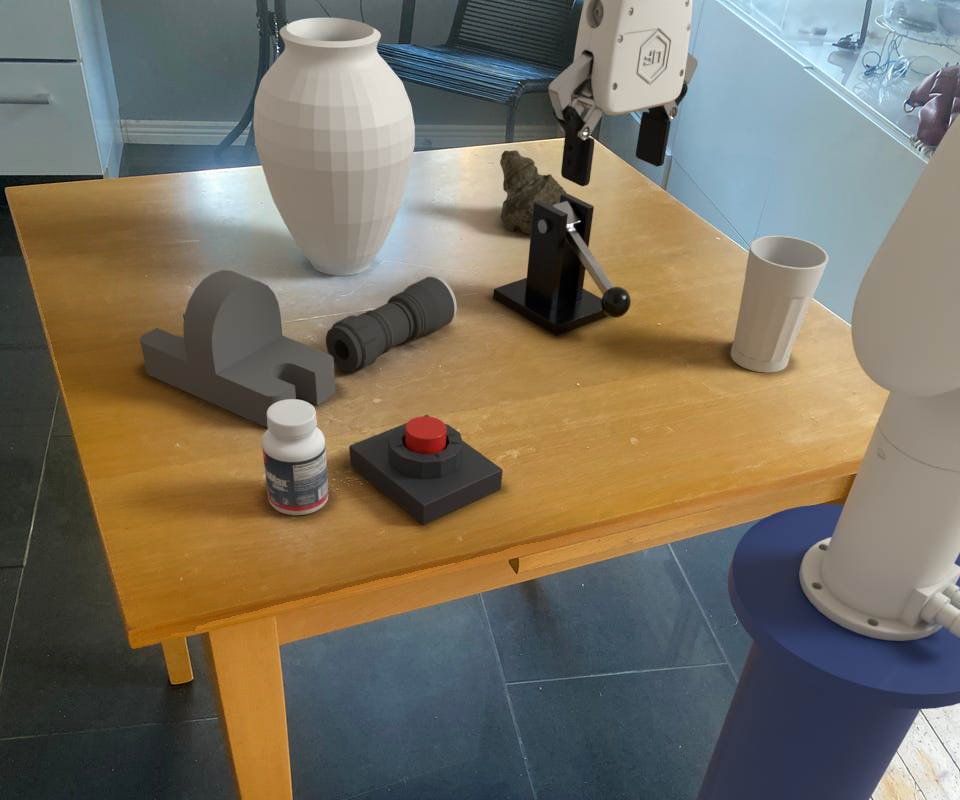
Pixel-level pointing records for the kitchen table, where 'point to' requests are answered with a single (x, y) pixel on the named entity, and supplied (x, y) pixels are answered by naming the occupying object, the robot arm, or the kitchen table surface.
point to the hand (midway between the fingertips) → (612, 171)
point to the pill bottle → (294, 458)
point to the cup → (775, 300)
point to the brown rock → (525, 190)
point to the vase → (334, 141)
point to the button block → (425, 473)
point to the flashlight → (391, 323)
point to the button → (425, 435)
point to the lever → (594, 267)
